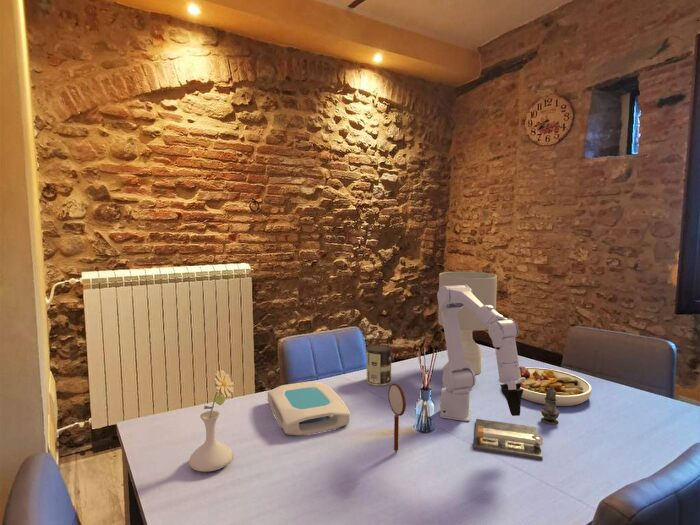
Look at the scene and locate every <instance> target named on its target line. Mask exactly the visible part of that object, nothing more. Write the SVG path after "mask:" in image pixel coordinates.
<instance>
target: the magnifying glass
mask: <svg viewBox="0 0 700 525" xmlns="http://www.w3.org/2000/svg"><path fill="white" fill-rule="evenodd" d="M387 396H388V402H389V406H390V408H391V411H392V413H394V416H393V417H394V419H393V420H394V421H393V423H394V424H393V425H394V426H393V428H394V429H393V431H394V432H393V436H394V437H393V439H394V440H393V451H394V453H395V454H397V453H398V451H399V428H400V427H399V424H400V423H399V422H400V421H399V417H401V416H402V415H404V413H405V411H406V408H407V407H406V405H407V404H406V397H405V393H404V391H403V389H402V387H401V386H400V385H399V384H398V383H392V384H391V385H390V386H389V387H388V394H387Z"/></svg>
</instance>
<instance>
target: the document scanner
mask: <svg viewBox="0 0 700 525" xmlns="http://www.w3.org/2000/svg"><path fill="white" fill-rule="evenodd" d="M267 402H268V404H269V408H270V410H272V411H271V413H272V412H273V413H272V415H273V414H274V415H275V417H276V419H277V421H278V423H279V424H278V423H277V424H278V426H279V425H280V426H279V428H280V427H281V428H282V429H283V430H282V429H281V428H280V429H281V430H282V431H283V432H284V433H285V434H287V435H290V436H298V437H303V436H302V435H306V436H309V435H308V434H311V435H314V434H313V433H316V434H320V433H319V432H321V433H325V432H324V431H326V432H329V430H331V431H335V430H334V429H336V430H338V429H340V428H342V427H343V426H345V425H348V424H349V423H351V422H350V421H351V412H350V410H349V408H348V406H347V405H346V403H345V402H344V400H343V399H342V398H341V397H340V396H339V395H338V394H337V393H336V392H335V391H334V390H333V388H331V386H329V385H328V384H325V383H321V382H316V381H310V380H309V381H303V382H296V383H290V384H289V383H288V384H283V385H280V386H277V387H275V388H273V389H270V390H267ZM274 415H273V416H274ZM275 417H274V418H275ZM323 417H327V419H323V420H320V421H314V422H309V423H301V422H304V421H307V420H313V419H317V418H323ZM328 417H329V418H328ZM276 419H275V420H276ZM277 421H276V422H277Z"/></svg>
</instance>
